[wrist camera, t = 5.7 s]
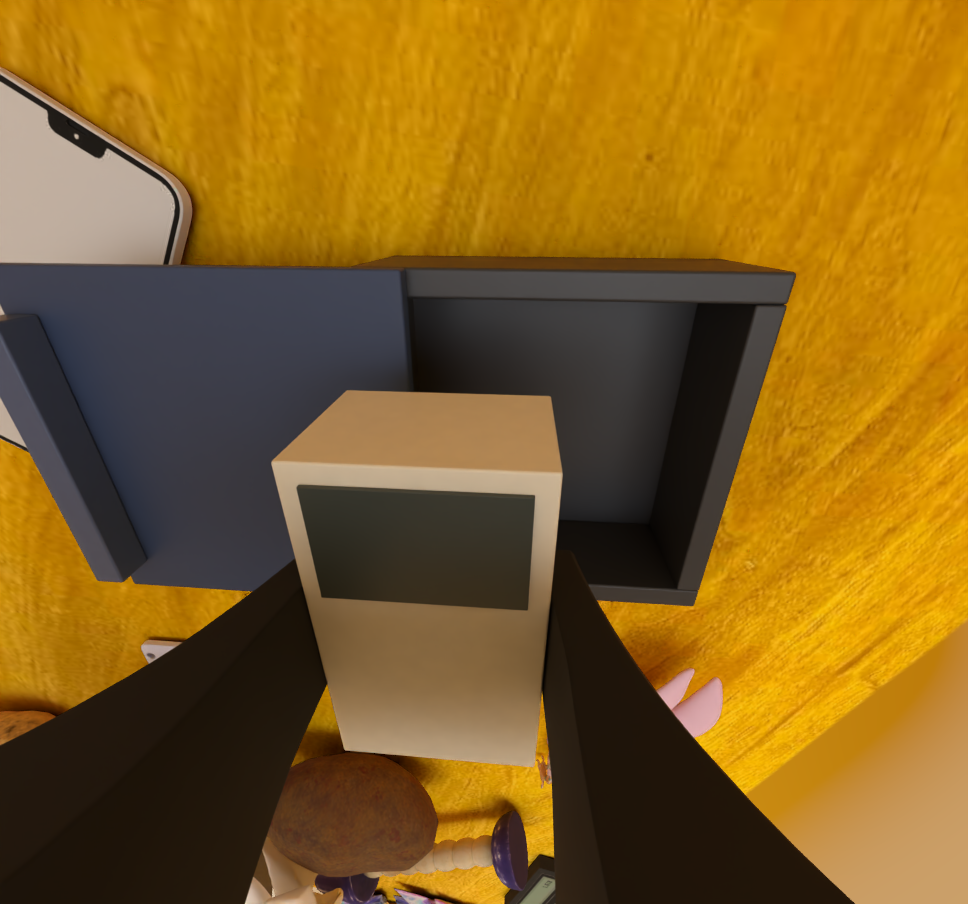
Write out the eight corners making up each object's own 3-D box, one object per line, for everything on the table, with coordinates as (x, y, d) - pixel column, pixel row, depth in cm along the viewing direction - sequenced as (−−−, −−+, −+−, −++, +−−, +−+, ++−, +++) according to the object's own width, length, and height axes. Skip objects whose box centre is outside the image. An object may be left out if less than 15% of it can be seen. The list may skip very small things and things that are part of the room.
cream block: (532, 645, 13) (534, 772, 10) (383, 634, 14) (342, 755, 11) (551, 395, 10) (564, 476, 7) (346, 389, 10) (265, 464, 7)
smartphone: (-46, 417, 20) (-45, 43, 13) (-30, 411, 21) (-21, 50, 14) (117, 495, 21) (189, 190, 15) (128, 488, 22) (202, 191, 15)
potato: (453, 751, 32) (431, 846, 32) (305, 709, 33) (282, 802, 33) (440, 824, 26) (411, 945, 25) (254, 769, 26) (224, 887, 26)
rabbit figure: (597, 752, 31) (749, 661, 23) (604, 864, 27) (799, 803, 18) (517, 726, 31) (642, 620, 22) (509, 835, 26) (664, 757, 17)
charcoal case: (659, 528, 21) (694, 607, 16) (415, 515, 21) (388, 587, 17) (722, 258, 15) (798, 272, 11) (393, 255, 16) (347, 266, 12)
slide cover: (428, 591, 17) (418, 629, 15) (145, 573, 18) (108, 608, 16) (405, 267, 12) (387, 274, 10) (2, 262, 12) (-75, 268, 11)
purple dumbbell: (526, 917, 29) (314, 925, 33) (533, 848, 34) (346, 863, 38) (506, 850, 29) (295, 866, 33) (515, 790, 34) (329, 811, 37)
